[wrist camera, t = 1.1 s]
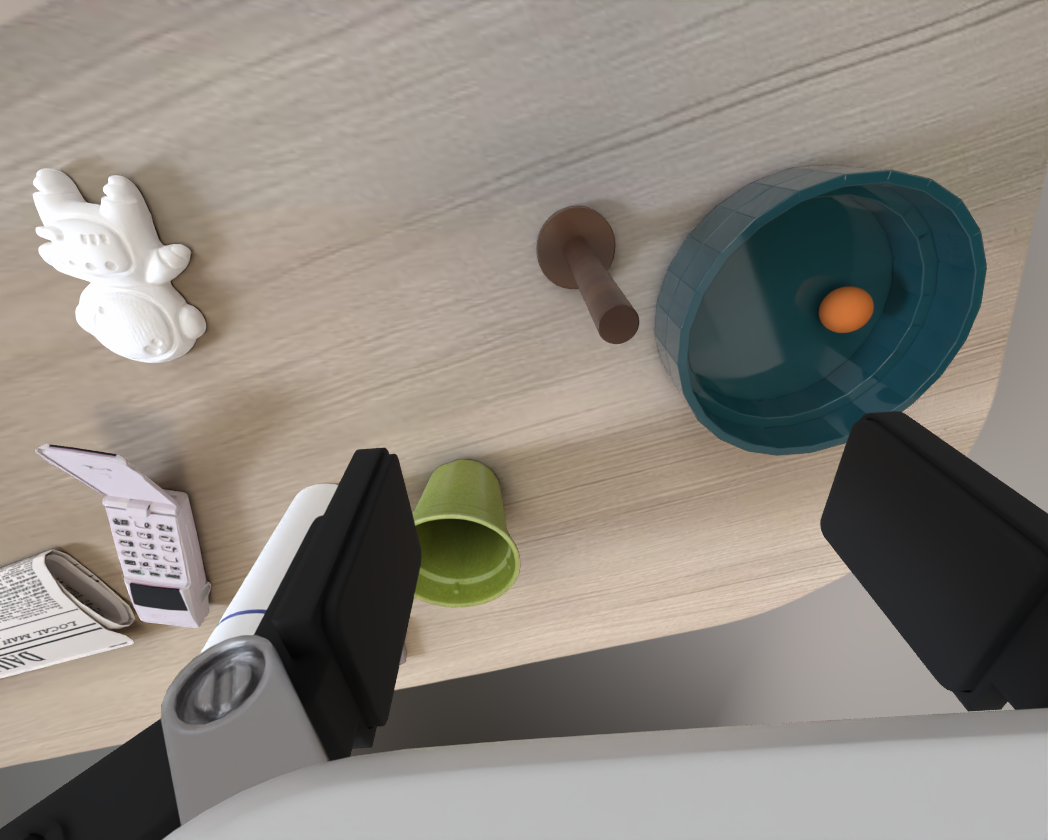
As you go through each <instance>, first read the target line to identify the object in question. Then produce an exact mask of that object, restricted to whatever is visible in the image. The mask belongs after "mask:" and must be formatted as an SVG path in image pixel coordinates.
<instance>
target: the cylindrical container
mask: <svg viewBox="0 0 1048 840" xmlns="http://www.w3.org/2000/svg"><path fill="white" fill-rule="evenodd" d="M337 487H338V485H336V484H328V483H325V484H316V485H311V486H309V487H307V488H304V489H303V490H302V491H300V492H299V493H298V494H297V495H296V497H295V498H294V500H293V501H292V503H291V505H290V506H289V508H288V510H287V511H286V513H285V514H284V516H283V518H282V519H281V521H280V523H279V524H278V526H277V528H276V529H275V531H274V533H273V534H272V536H271V538H270V539H269V541H268V542H267V544H266V546H265V547H264V549H263V551H262V552H261V554H260V556H259V557H258V559H257V561H256V562H255V564H254V566H253V567H252V569H251V571H250V572H249V574H248V575H247V577H246V579H245V580H244V582H243V584H242V585H241V587H240V589H239V590H238V592H237V594H236V595H235V597H234V599H233V600H232V602H231V603H230V605H229V607H228V608H227V610H226V612H225V613H224V615H223V617H222V618H221V620H220V622H219V623H218V625H217V627H216V628H215V630H214V631H213V633H212V635H211V636H210V638H209V640H208V641H207V643H206V645H205V646H204V648H203V650H202V651H201V653H202V652H204V651H205V650H207V649H208V648H209V647H211V646H213V645H215V644H218V643H220V642H222V641H224V640H226V639H229V638H233V637H237V636H241V635H254V633H255V631H256V629H257V628H258V626H259V624H260V622H261V620H262V618H263V616H264V614H265V612H266V610H267V608H268V606H269V604H270V603H271V601H272V599H273V597H274V595H275V593H276V591H277V589H278V587H279V585H280V583H281V581H282V579H283V578H284V576H285V574H286V572H287V570H288V568H289V566H290V564H291V562H292V560H293V558H294V556H295V554H296V553H297V551H298V549H299V547H300V545H301V543H302V541H303V539H304V537H305V535H306V533H307V531H308V529H309V528H310V526H311V524H312V522H313V521H314V520H315V518H317V517H319V516H322V515H324V513H325V511H326V509H327V507H328V505H329V503H330V501H331V499H332V497H333V495H334V493H335V491H336V489H337ZM201 653H200V654H201Z"/></svg>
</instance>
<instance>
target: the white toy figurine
mask: <svg viewBox="0 0 1048 840" xmlns="http://www.w3.org/2000/svg"><path fill="white" fill-rule="evenodd" d="M33 184H34V186H35V187H36V188H37V189H39V190H40V191H39V192H36V193H34V194H33V198H34V202H35V205H36V208H37V210H38V213H39V215H40V217H41V220H42V222H43V224H44V226H43V227H37V228H36V233H37V234H38V235H39V236H40V237H43V238H46V239H48V240H51V241H52V243H44V244H42V245H41V246H40V247H39V253H40V255H41V256H42V258H43V259H44V260H45V261H46V262H47V263H49V264H50V265H52V266H54V267H55V269H57V270H58V271H60V272H62V273H65V274H67V275H70V276H73V277H76V278H80V279H83V280H87V281H90V282H91V283H90V284H89V285H88V286H87V287H86V288H85V290H84V291H83V292H82V294H81V296H80V304H79V305H78V306H77V308H76V319H77V322H78V323H79V325H80V326H81V327H82V328H83V329H84V330H85V331H87V332H89V333H91V334H93V335H94V336H95V337H96V338H97V339H98V340H99V341H100V342H101V343H102V344H103V345H104V346H105V347H107V348H108V349H110V350H111V351H113V352H114V353H116V354H118V355H121V356H123V357H126V358H129V359H132V360H137V361H141V362H147V363H162V362H168V361H171V360H174V359H177V358H179V357H181V356H183V355H184V354H186V353H187V352H188V351H189V350H190V349H191V348H192V347H193V346H194V344H195V342H196V339H197V338H199V337H200V336H202V335H203V334H204V332H205V330H206V322H205V319H204V317H203V315H202V314H201V312H200V311H199V310H198V309H197V308H195V307H194V306H191V305H189V304H187V303H186V301H185V300H184V298H183V297H182V296H181V295H180V294H179V293H178V292H177V291H176V290H175V289H174V287H173V286H172V284H171V280H173V279H174V278H175V277H177V276H178V275H179V274H180V273H181V272H182V271H183V270H184V269H185V268H186V267H187V265H188V263H189V261H190V255H191V250H190V249H189V248H187V247H186V246H184V245H182V244H172V245H167V246H165V245H163V244H162V243H161V242H160V241H159V239H158V236H157V233H156V230H155V227H154V224H153V221H152V216H151V213H150V212H149V210H148V208H147V205H146V203H145V201H144V198H143V196H142V195H141V193H140V191H139V190H138V188H137V187H136V186H135V185H134V183H133V182H131V181H130V180H129V179H127V178H125V177H123V176H118V175H112V176H110V177H109V178H108V183H107V184H106V185H105V186H104V188H103V191H104V193H105V194H106V195H107V196H104V197H102V199H101V205H98V204H92V203H87V202H86V201H85V200H84V199H83V197H82V195H81V194H80V192H79V190H78V188H77V187H76V185H75V184H74V182H73V181H72V180H71V179H70V178H69V177H68V176H67V175H65V174H64V173H63V172H61V171H59V170H55V169H41V170H39V171H38V172H37V174H36V178H35V179H34V181H33Z"/></svg>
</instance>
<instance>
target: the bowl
mask: <svg viewBox="0 0 1048 840" xmlns="http://www.w3.org/2000/svg"><path fill="white" fill-rule="evenodd" d="M986 266H987V264H986V258H985V253H984V247H983V241H982V235H981V231H980V229H979V227H978V225H977V224H976V222H975V220H974V219H973V217H972V216H971V214H970V212H969V211H968V209H967V208H966V206H965V204H964V203H963V201H962V200H961V199H960V198H958V197H957V196H955V195H954V194H953V193H951V192H950V191H948V190H947V189H945V188H944V187H942V186H941V185H939V184H938V183H937V182H935V181H934V180H932V179H930V178H925V177H921V176H917V175H912V174H908V173H903V172H899V171H895V170H887V169H876V168H864V167H852V166H840V165H817V166H806V167H795V168H790V169H787V170H784V171H781V172H779V173H776V174H773V175H771V176H768V177H765V178H762V179H760V180H757V181H754V182H753V183H750V184H749V185H747V186H746V187H744V188H743V189H741V190H740V191H738V192H737V193H735V194H734V195H732V196H731V197H729V198H728V199H726V200H725V201H723V202H722V203H720V204H719V205H718V206H716V207H715V208H714V209H713V210H712V211H711V212H710V213H709V214H708V215H707V216H706V217H705V218H704V219H703V221H702V222H701V223H700V224H699V225H698V226H697V227H696V228H695V229H694V230H693V231H692V232H691V233H690V234H689V236H687V238H686V240H685V241H684V243H683V245H682V246H681V248H680V249H679V251H678V253H677V254H676V256H675V258H674V259H673V261H672V263H671V264H670V266H669V267H668V270H667V273H666V276H665V279H664V282H663V285H662V288H661V291H660V294H659V297H658V300H657V307H656V322H655V337H656V341H657V346H658V350H659V355H660V359H661V363H662V364H663V366H664V368H665V369H666V371H667V373H668V375H669V376H670V378H671V380H672V381H673V383H674V385H675V386H676V388H677V389H678V391H679V392H680V394H681V395H682V397H683V398H684V400H685V401H686V403H687V405H688V406H689V408H690V409H691V411H692V412H693V414H694V415H695V417H696V418H697V420H698V421H699V422H700V423H701V424H703V425H704V426H705V427H706V428H707V429H708V430H709V431H711V432H712V433H713V434H714V435H715V436H716V437H718V438H719V439H720V440H723V441H725V442H727V443H729V444H732V445H734V446H736V447H739V448H741V449H743V450H746V451H750V452H756V453H763V454H770V455H791V454H804V453H812V452H816V451H820V450H823V449H827V448H830V447H834V446H838V445H841V444H845V443H847V440H848V437H849V434H850V431H851V428H852V426H853V424H854V423H855V422H857V421H859V420H860V418H861V417H862V416H863V415H865V414H867V413H877V412H891V411H900V412H902V411H904V410H905V409H906V408H908V407H909V406H911V405H912V404H913V403H914V402H915V401H916V400H917V399H918V398H919V397H920V396H921V395H922V394H923V393H924V392H925V391H926V390H927V389H928V388H929V387H930V386H931V385H932V384H933V383H934V382H935V381H936V380H938V379H939V378H940V377H941V375H942V374H943V373H944V371H945V370H946V368H947V367H948V366H949V364H950V363H951V361H952V360H953V358H954V357H955V356H956V354H957V353H958V351H959V350H960V348H961V347H962V346H963V344H964V343H965V341H966V339H967V337H968V335H969V332H970V330H971V328H972V325H973V323H974V320H975V318H976V316H977V313H978V311H979V309H980V306H981V302H982V296H983V289H984V282H985V276H986V269H987V267H986ZM846 286H853V287H858V288H861V289H863V290H865V291H866V292H867V293H868V294H869V295H870V296H871V298H872V300H873V304H874V309H873V314H872V316H871V318H870V319H869V321H868V322H867V323H866V324H865V325H864V326H863V327H861V328H859V329H858V330H855V331H853V332H848V333H837V332H833V331H831V330H829V329H827V328H826V327H825V326H824V325H823V324H822V323H821V321H820V318H819V307H820V304H821V302H822V300H823V299H824V298H825V297H826V296H827V295H828V294H829V293H830V292H832V291H833V290H835V289H838V288H841V287H846Z"/></svg>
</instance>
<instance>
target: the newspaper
mask: <svg viewBox="0 0 1048 840" xmlns="http://www.w3.org/2000/svg"><path fill="white" fill-rule="evenodd" d="M134 620H135V617H134V614H133V612H132V610H131V608H130V606H129V605H128V604H127V603H126V602H125V601H124V600H123V599H121V598H120V597H119V596H118V595H117V594H116V593H115V592H113V591H112V590H111V589H110V588H109V587H108V586H107V585H106V584H104V583H103V582H102V581H101V580H100V579H99V578H98V577H97V576H95V575H94V574H93V573H92V572H90V571H89V570H88V569H86V568H85V567H84V566H82V565H81V564H80V563H78V562H77V561H76V560H75V559H73V558H72V557H71V556H69V555H68V554H66V553H63V552H60V551H57V550H54V549H52V550H49V551H46V552H43V553H41V554H38V555H35V556H32V557H30V558H27V559H24V560H21V561H18V562H16V563H13V564H10V565H7V566H4V567H2V568H0V678H4V677H8V676H12V675H15V674H19V673H23V672H27V671H31V670H35V669H39V668H42V667H46V666H50V665H54V664H58V663H62V662H66V661H69V660H73V659H77V658H81V657H85V656H89V655H93V654H97V653H100V652H104V651H108V650H112V649H116V648H120V647H124V646H128V645H131V644H134V642H133V640H132V639H130V638H129V637H127V636H126V635H123V634H120V633H116V632H113V630H116V629H120V628H123V627H126V626H129V625H131V624H132V623H133V622H134Z"/></svg>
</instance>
